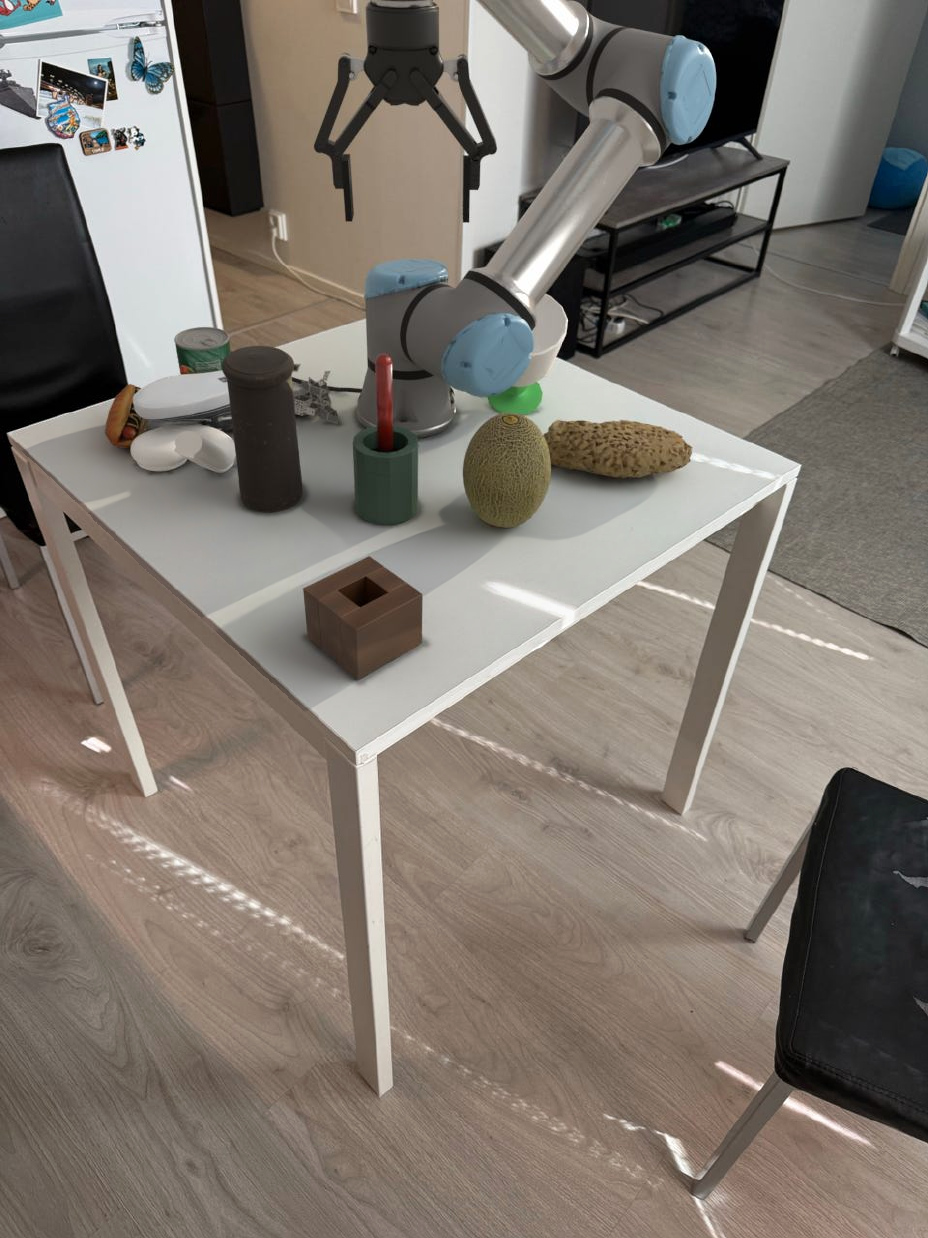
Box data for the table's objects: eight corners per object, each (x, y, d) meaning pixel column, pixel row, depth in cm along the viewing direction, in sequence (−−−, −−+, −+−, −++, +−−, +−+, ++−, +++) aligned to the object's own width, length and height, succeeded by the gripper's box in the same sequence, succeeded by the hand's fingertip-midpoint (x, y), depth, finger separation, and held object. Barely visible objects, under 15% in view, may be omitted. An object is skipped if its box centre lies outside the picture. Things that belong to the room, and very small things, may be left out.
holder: (307, 637, 100) (302, 588, 96) (370, 604, 105) (369, 555, 101) (358, 680, 95) (355, 630, 91) (422, 643, 100) (422, 593, 96)
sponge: (536, 480, 130) (673, 492, 121) (534, 426, 127) (675, 434, 118) (569, 456, 140) (697, 465, 132) (568, 405, 137) (700, 411, 128)
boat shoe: (120, 384, 124) (126, 438, 129) (155, 410, 120) (159, 464, 125) (267, 351, 139) (267, 400, 144) (302, 373, 135) (300, 423, 140)
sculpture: (176, 430, 134) (166, 380, 129) (258, 457, 129) (252, 406, 124) (117, 466, 126) (104, 414, 120) (202, 496, 121) (193, 443, 116)
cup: (567, 374, 147) (579, 299, 133) (542, 438, 141) (552, 367, 127) (487, 353, 149) (491, 277, 135) (460, 414, 143) (460, 342, 129)
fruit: (447, 505, 122) (450, 403, 112) (521, 489, 126) (530, 389, 116) (483, 551, 114) (490, 446, 104) (560, 533, 118) (574, 430, 108)
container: (316, 486, 124) (305, 346, 111) (285, 520, 118) (270, 376, 105) (260, 473, 126) (243, 334, 113) (226, 506, 119) (204, 362, 107)
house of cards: (333, 347, 138) (369, 373, 136) (326, 395, 145) (360, 420, 142) (290, 364, 133) (326, 391, 130) (284, 413, 139) (318, 439, 137)
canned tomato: (175, 404, 140) (163, 336, 133) (217, 389, 145) (207, 322, 138) (206, 422, 136) (195, 352, 129) (248, 405, 141) (240, 337, 134)
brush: (369, 503, 121) (364, 353, 107) (387, 495, 122) (385, 346, 109) (384, 513, 119) (381, 362, 105) (403, 505, 121) (402, 355, 107)
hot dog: (132, 417, 138) (157, 400, 137) (121, 463, 129) (149, 445, 127) (108, 393, 135) (134, 375, 134) (95, 437, 125) (123, 418, 124)
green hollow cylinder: (343, 505, 121) (339, 438, 114) (390, 484, 125) (389, 419, 119) (382, 532, 116) (381, 464, 110) (430, 509, 121) (431, 443, 114)
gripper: (273, 4, 89) (297, 227, 103) (526, 7, 89) (515, 229, 104) (284, -7, 95) (305, 206, 109) (522, -4, 95) (512, 208, 109)
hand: (407, 218), depth 106 cm, fingers open, 13 cm apart
